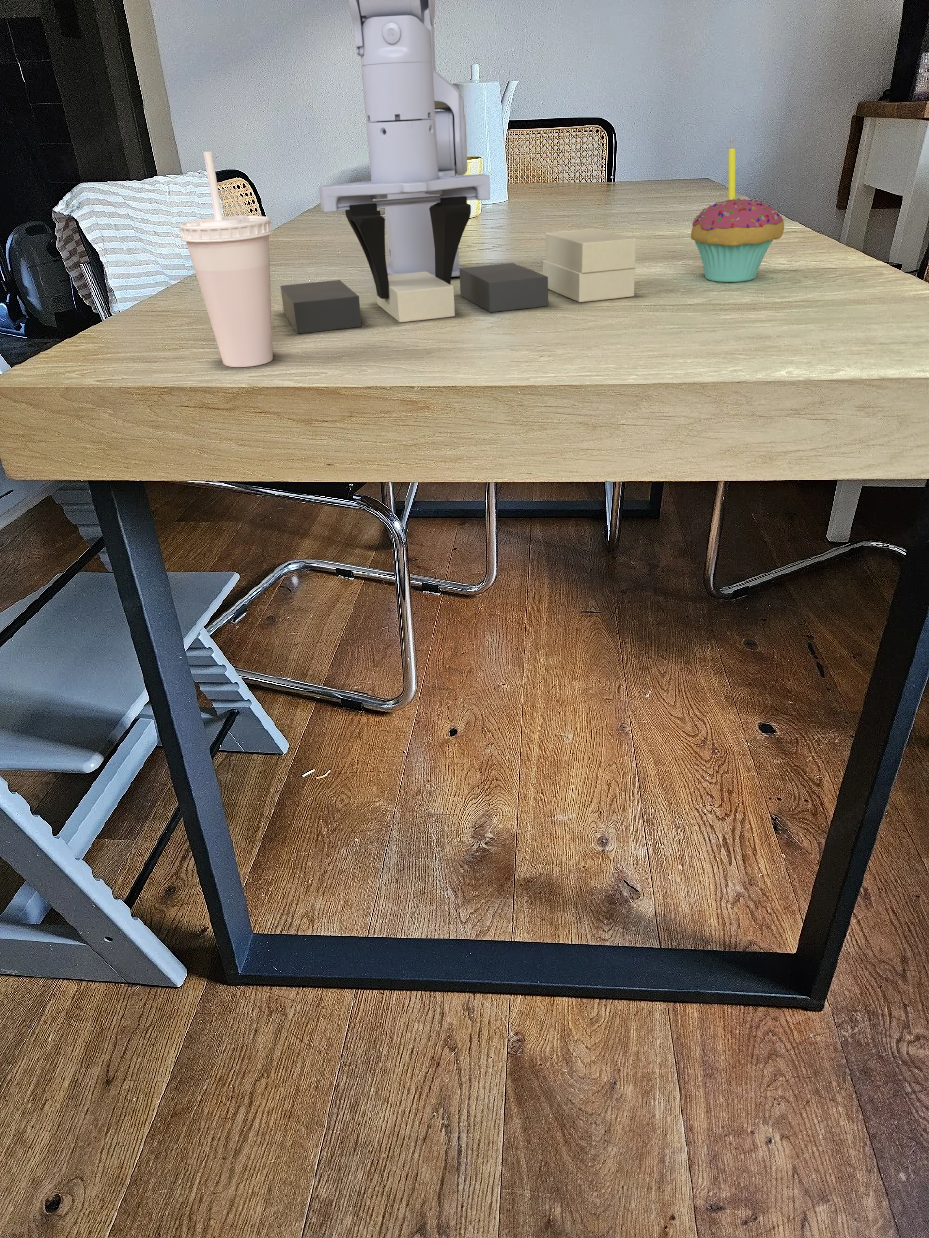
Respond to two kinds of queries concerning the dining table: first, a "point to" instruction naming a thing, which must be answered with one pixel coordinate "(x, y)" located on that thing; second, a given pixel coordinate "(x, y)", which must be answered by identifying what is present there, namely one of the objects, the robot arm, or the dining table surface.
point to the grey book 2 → (503, 287)
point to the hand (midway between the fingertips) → (413, 294)
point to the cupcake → (735, 233)
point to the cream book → (418, 297)
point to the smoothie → (233, 278)
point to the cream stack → (590, 264)
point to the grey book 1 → (321, 306)
